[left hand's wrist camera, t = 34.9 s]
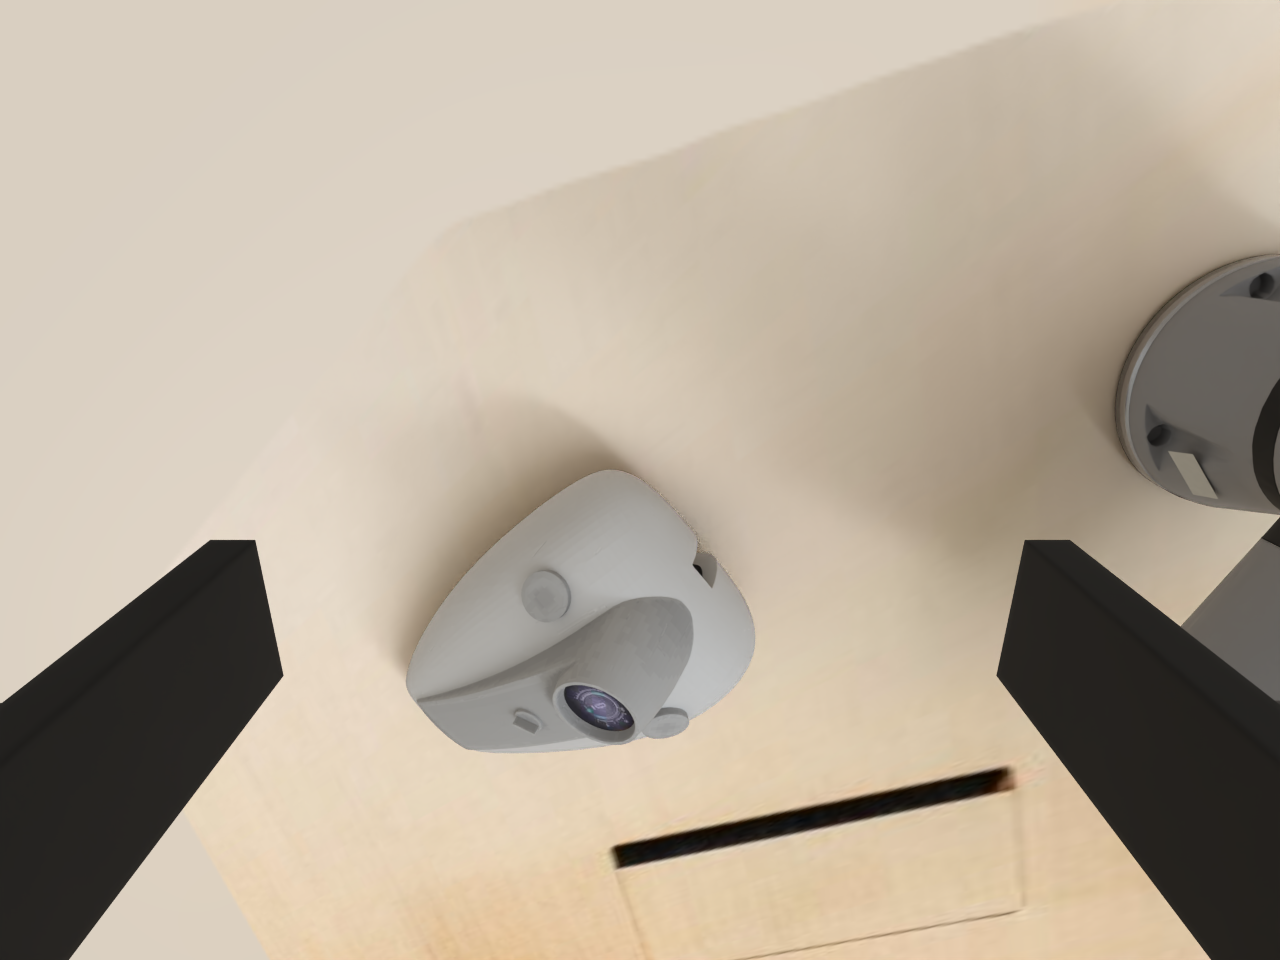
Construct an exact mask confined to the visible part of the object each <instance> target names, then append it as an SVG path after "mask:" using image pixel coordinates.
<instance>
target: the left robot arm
mask: <svg viewBox="0 0 1280 960" xmlns="http://www.w3.org/2000/svg"><path fill="white" fill-rule="evenodd" d="M1115 415H1116V425H1117V431H1118V435H1119V439H1120V442H1121V444H1122V447H1123V449H1124V451H1125V453H1126V455H1127V457H1128V458H1129V460H1130V461H1131V463H1132V464H1133V465H1134V467H1135V468H1136V469H1137V470H1138V471H1139V472H1140V473H1141V474H1142V475H1143V476H1145V477H1146V478H1147V479H1148V480H1150V481H1151V482H1153V483H1154V484H1156V485H1157V486H1159V487H1161V488H1163V489H1165V490H1167V491H1168V492H1170V493H1172V494H1174V495H1177V496H1179V497H1181V498H1184V499H1187V500H1190V501H1193V502H1196V503H1199V504H1203V505H1206V506H1211V507H1217V508H1226V509H1235V510H1243V511H1252V512H1260V513H1269V514H1277V515H1280V254H1275V255H1263V256H1257V257H1252V258H1248V259H1244V260H1240V261H1237V262H1234V263H1231V264H1228V265H1226V266H1223V267H1221V268H1219V269H1217V270H1214V271H1212V272H1210V273H1209V274H1207V275H1205V276H1203V277H1201V278H1200V279H1198V280H1196V281H1195V282H1193V283H1192V284H1190V285H1189V286H1187V287H1186V288H1185V289H1183V290H1182V291H1181V292H1179V293H1178V294H1177V295H1176V296H1175V297H1173V298H1172V299H1171V300H1170V301H1169V302H1168V303H1167V304H1166V305H1165V306H1164V307H1163V308H1162V309H1161V310H1160V311H1159V312H1158V313H1157V314H1156V315H1155V316H1154V317H1153V319H1152V320H1151V321H1150V322H1149V324H1148V325H1147V326H1146V327H1145V329H1144V330H1143V332H1142V333H1141V335H1140V336H1139V337H1138V339H1137V341H1136V343H1135V344H1134V346H1133V348H1132V350H1131V352H1130V354H1129V356H1128V358H1127V360H1126V362H1125V365H1124V368H1123V370H1122V373H1121V377H1120V380H1119V384H1118V389H1117V395H1116V405H1115ZM1271 543H1272V544H1271ZM1273 544H1274V545H1273ZM1275 545H1276V546H1275ZM1277 546H1278V547H1277ZM1279 547H1280V518H1279V519H1278V520H1277V521H1276V522H1275V523H1274V524H1273V526H1272V527H1271V528H1270V529H1269V530H1268V531H1267V532H1266V533H1265V535H1264V536H1262V537H1261V539H1260V540H1259V541H1258V542H1257V543H1256V544H1255V546H1254V547H1253V548H1252V549H1251V550H1250V551H1249V552H1248V553H1247V554H1246V555H1245V556H1244V558H1243V559H1242V560H1241V561H1240V562H1239V563H1238V564H1237V565H1236V566H1235V567H1234V569H1233V570H1232V571H1231V572H1230V573H1229V574H1228V575H1227V576H1226V577H1225V578H1224V580H1223V581H1222V582H1221V583H1220V584H1219V585H1218V586H1217V587H1216V588H1215V589H1214V591H1213V592H1212V593H1211V594H1210V595H1209V596H1208V597H1207V598H1206V599H1205V600H1204V602H1203V603H1202V604H1201V605H1200V606H1199V607H1198V608H1197V609H1196V610H1195V611H1194V612H1193V614H1192V615H1191V616H1190V617H1189V618H1188V619H1187V620H1186V621H1185V622H1184V623H1183V625H1182V626H1181V627H1180V626H1179V625H1178V624H1176V623H1175V622H1174V621H1172V620H1171V619H1170V618H1169V617H1167V616H1166V615H1165V614H1164V613H1162V612H1161V611H1160V610H1158V609H1157V608H1156V607H1155V606H1153V605H1152V604H1151V603H1149V602H1148V601H1147V600H1146V599H1144V598H1143V597H1142V596H1141V595H1139V594H1138V593H1137V592H1135V591H1134V590H1133V589H1132V588H1130V587H1129V586H1128V585H1126V584H1125V583H1124V582H1123V581H1121V580H1120V579H1119V578H1118V577H1116V576H1115V575H1114V574H1112V573H1111V572H1110V571H1109V570H1107V569H1106V568H1105V567H1103V566H1102V565H1101V564H1100V563H1098V562H1097V561H1096V560H1095V559H1093V558H1092V557H1091V556H1089V555H1088V554H1087V553H1086V552H1084V551H1083V550H1082V549H1081V548H1079V547H1078V546H1077V545H1075V544H1074V543H1073V542H1072V541H1070V540H1025V542H1024V546H1023V551H1022V556H1021V561H1020V566H1019V570H1018V575H1017V580H1016V585H1015V590H1014V594H1013V599H1012V604H1011V609H1010V614H1009V618H1008V623H1007V628H1006V633H1005V638H1004V642H1003V647H1002V652H1001V657H1000V662H999V666H998V671H997V677H998V678H999V680H1000V681H1001V682H1002V684H1003V685H1004V686H1005V687H1006V689H1007V690H1008V691H1009V693H1010V694H1011V695H1012V697H1013V698H1014V699H1015V701H1016V702H1017V703H1018V705H1019V706H1020V707H1021V709H1022V710H1023V711H1024V713H1025V714H1026V715H1027V717H1028V718H1029V719H1030V721H1031V722H1032V723H1033V725H1034V726H1035V727H1036V729H1037V730H1038V731H1039V732H1040V734H1041V735H1042V736H1043V738H1044V739H1045V740H1046V742H1047V743H1048V744H1049V746H1050V747H1051V748H1052V750H1053V751H1054V752H1055V754H1056V755H1057V756H1058V758H1059V759H1060V760H1061V762H1062V763H1063V764H1064V766H1065V767H1066V768H1067V770H1068V771H1069V772H1070V774H1071V775H1072V776H1073V778H1074V779H1075V780H1076V781H1077V783H1078V784H1079V785H1080V787H1081V788H1082V789H1083V791H1084V792H1085V793H1086V795H1087V796H1088V797H1089V799H1090V800H1091V801H1092V803H1093V804H1094V805H1095V807H1096V808H1097V809H1098V811H1099V812H1100V813H1101V815H1102V816H1103V817H1104V819H1105V820H1106V821H1107V823H1108V824H1109V825H1110V826H1111V828H1112V829H1113V830H1114V832H1115V833H1116V834H1117V836H1118V837H1119V838H1120V840H1121V841H1122V842H1123V844H1124V845H1125V846H1126V848H1127V849H1128V850H1129V852H1130V853H1131V854H1132V856H1133V857H1134V858H1135V860H1136V861H1137V862H1138V864H1139V865H1140V866H1141V868H1142V869H1143V870H1144V871H1145V873H1146V874H1147V875H1148V877H1149V878H1150V879H1151V881H1152V882H1153V883H1154V885H1155V886H1156V887H1157V889H1158V890H1159V891H1160V893H1161V894H1162V895H1163V897H1164V898H1165V899H1166V901H1167V902H1168V903H1169V905H1170V906H1171V907H1172V909H1173V910H1174V911H1175V913H1176V914H1177V915H1178V916H1179V918H1180V919H1181V920H1182V922H1183V923H1184V924H1185V926H1186V927H1187V928H1188V930H1189V931H1190V932H1191V934H1192V935H1193V936H1194V938H1195V939H1196V940H1197V942H1198V943H1199V944H1200V946H1201V947H1202V948H1203V950H1204V951H1205V952H1206V954H1207V955H1208V956H1209V958H1210V959H1211V960H1280V548H1279ZM282 677H283V671H282V666H281V662H280V657H279V652H278V647H277V642H276V638H275V633H274V628H273V623H272V618H271V614H270V609H269V604H268V599H267V594H266V590H265V585H264V580H263V575H262V570H261V566H260V561H259V556H258V551H257V546H256V542H255V540H210V541H208V542H207V543H206V544H205V545H203V546H202V547H201V548H199V549H198V550H197V551H196V552H194V553H193V554H192V555H191V556H189V557H188V558H187V559H185V560H184V561H183V562H182V563H180V564H179V565H178V566H176V567H175V568H174V569H173V570H171V571H170V572H169V573H168V574H166V575H165V576H164V577H162V578H161V579H160V580H159V581H157V582H156V583H155V584H154V585H152V586H151V587H150V588H148V589H147V590H146V591H145V592H143V593H142V594H141V595H139V596H138V597H137V598H136V599H134V600H133V601H132V602H131V603H129V604H128V605H127V606H125V607H124V608H123V609H122V610H120V611H119V612H118V613H116V614H115V615H114V616H113V617H111V618H110V619H109V620H108V621H106V622H105V623H104V624H102V625H101V626H100V627H99V628H97V629H96V630H95V631H93V632H92V633H91V634H90V635H88V636H87V637H86V638H85V639H83V640H82V641H81V642H79V643H78V644H77V645H76V646H74V647H73V648H72V649H70V650H69V651H68V652H67V653H65V654H64V655H63V656H62V657H60V658H59V659H58V660H56V661H55V662H54V663H53V664H51V665H50V666H49V667H47V668H46V669H45V670H44V671H42V672H41V673H40V674H39V675H37V676H36V677H35V678H33V679H32V680H31V681H30V682H28V683H27V684H26V685H24V686H23V687H22V688H21V689H19V690H18V691H17V692H16V693H14V694H13V695H12V696H11V697H9V698H8V699H7V700H5V701H4V702H3V703H0V960H69V959H70V957H71V956H72V955H73V954H74V952H75V951H76V950H77V948H78V947H79V946H80V944H81V943H82V942H83V940H84V939H85V938H86V936H87V935H88V934H89V932H90V931H91V930H92V928H93V927H94V926H95V924H96V923H97V922H98V920H99V919H100V918H101V916H102V915H103V914H104V912H105V911H106V910H107V909H108V907H109V906H110V904H111V903H112V902H113V901H114V899H115V898H116V897H117V895H118V894H119V893H120V891H121V890H122V889H123V887H124V886H125V885H126V883H127V882H128V881H129V879H130V878H131V877H132V875H133V874H134V873H135V871H136V870H137V869H138V868H139V866H140V865H141V864H142V862H143V861H144V860H145V858H146V857H147V856H148V854H149V853H150V852H151V850H152V849H153V848H154V846H155V845H156V844H157V842H158V841H159V840H160V838H161V837H162V836H163V834H164V833H165V832H166V830H167V829H168V828H169V826H170V825H171V824H172V823H173V821H174V820H175V818H176V817H177V816H178V814H179V813H180V812H181V811H182V809H183V808H184V807H185V805H186V804H187V803H188V801H189V800H190V799H191V797H192V796H193V795H194V793H195V792H196V791H197V789H198V788H199V787H200V785H201V784H202V783H203V781H204V780H205V779H206V777H207V776H208V775H209V774H210V772H211V771H212V770H213V768H214V767H215V766H216V764H217V763H218V762H219V760H220V759H221V758H222V756H223V755H224V754H225V752H226V751H227V750H228V748H229V747H230V746H231V744H232V743H233V742H234V740H235V739H236V738H237V736H238V735H239V734H240V732H241V731H242V730H243V729H244V727H245V726H246V725H247V723H248V722H249V721H250V719H251V718H252V717H253V715H254V714H255V713H256V711H257V710H258V709H259V707H260V706H261V705H262V703H263V702H264V701H265V699H266V698H267V697H268V695H269V694H270V693H271V691H272V690H273V689H274V687H275V686H276V685H277V684H278V682H279V681H280V680H281V678H282Z"/></svg>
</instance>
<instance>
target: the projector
mask: <svg viewBox="0 0 1280 960" xmlns="http://www.w3.org/2000/svg"><path fill="white" fill-rule="evenodd" d="M697 546H698V541H697V536H696V534H695V533H694V531H693V530H692V529H691V528H690V527H689V526H688V524H687V523H686V522H685V521H684V520H683V519H682V517H681V516H680V515H679V514H678V513H677V512H676V511H675V510H674V508H673V507H672V506H671V505H670V504H669V503H668V502H667V501H666V500H665V499H664V498H663V497H662V496H661V495H660V494H659V493H657V492H656V491H655V490H654V489H653V488H652V487H651V486H649V485H648V484H647V483H645V482H644V481H643V480H641V479H640V478H638V477H636V476H634V475H632V474H629V473H626V472H623V471H619V470H602V471H598V472H595V473H592V474H590V475H588V476H586V477H584V478H582V479H580V480H578V481H576V482H575V483H573V484H571V485H570V486H568V487H566V488H565V489H563V490H562V491H560V492H559V493H557V494H556V495H555V496H553V497H552V498H550V499H549V500H548V501H546V502H545V503H544V504H542V505H541V506H540V507H538V508H537V509H536V510H534V511H533V512H532V513H531V514H529V515H528V516H527V517H526V518H524V519H523V520H522V521H521V522H520V523H518V524H517V525H516V526H515V527H514V528H513V529H511V530H510V531H509V532H508V533H507V534H506V535H505V536H503V537H502V538H501V539H500V540H499V541H498V542H497V543H496V544H495V545H493V546H492V547H491V548H490V549H489V550H488V551H487V552H486V553H485V554H484V555H483V556H482V557H481V558H480V559H479V560H478V561H477V562H476V563H475V564H474V565H473V567H472V568H471V569H470V570H469V571H468V572H467V573H466V574H465V575H464V576H463V577H462V579H461V580H460V581H459V582H458V584H457V585H456V586H455V587H454V589H453V590H452V591H451V592H450V594H449V595H448V596H447V597H446V599H445V600H444V602H443V603H442V604H441V606H440V607H439V609H438V610H437V612H436V613H435V615H434V616H433V618H432V619H431V621H430V623H429V624H428V626H427V628H426V629H425V631H424V633H423V635H422V637H421V638H420V640H419V642H418V644H417V647H416V649H415V651H414V653H413V656H412V658H411V661H410V665H409V668H408V672H407V677H406V686H407V690H408V692H409V694H410V695H411V697H412V699H413V700H414V701H415V702H416V704H417V705H418V706H419V707H420V708H421V709H422V710H423V712H424V713H425V714H426V715H427V717H428V718H429V719H430V720H431V721H432V722H433V723H434V724H435V725H436V726H437V727H438V728H439V729H440V730H441V731H442V732H443V733H444V734H445V735H447V736H448V737H449V738H450V739H452V740H453V741H454V742H456V743H457V744H459V745H460V746H462V747H463V748H465V749H468V750H476V751H480V752H491V753H540V752H556V751H570V750H581V749H588V748H596V747H604V746H609V745H621V744H626V743H629V742H631V741H633V740H637V739H641V738H645V737H649V738H656V739H660V738H668V737H671V736H674V735H677V734H679V733H681V732H682V731H684V730H685V729H686V728H687V727H688V725H689V720H691V719H693V718H695V717H697V716H698V715H700V714H702V713H704V712H705V711H706V710H708V709H709V708H711V707H712V706H714V705H715V704H716V703H718V702H719V701H720V700H721V699H722V698H723V697H724V696H726V695H727V694H728V693H729V692H730V691H731V690H732V689H733V688H734V686H735V685H736V684H737V683H738V682H739V681H740V679H741V678H742V676H743V675H744V673H745V671H746V670H747V668H748V666H749V664H750V661H751V659H752V656H753V653H754V648H755V628H754V623H753V619H752V616H751V613H750V610H749V608H748V605H747V603H746V601H745V599H744V598H743V596H742V594H741V592H740V591H739V589H738V588H737V586H736V585H735V583H734V582H733V580H732V579H731V578H730V576H729V575H728V574H727V572H726V571H725V570H724V568H723V567H722V566H721V565H720V563H719V562H718V561H717V560H716V558H715V557H714V556H713V555H711V554H709V553H696V552H697Z"/></svg>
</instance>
